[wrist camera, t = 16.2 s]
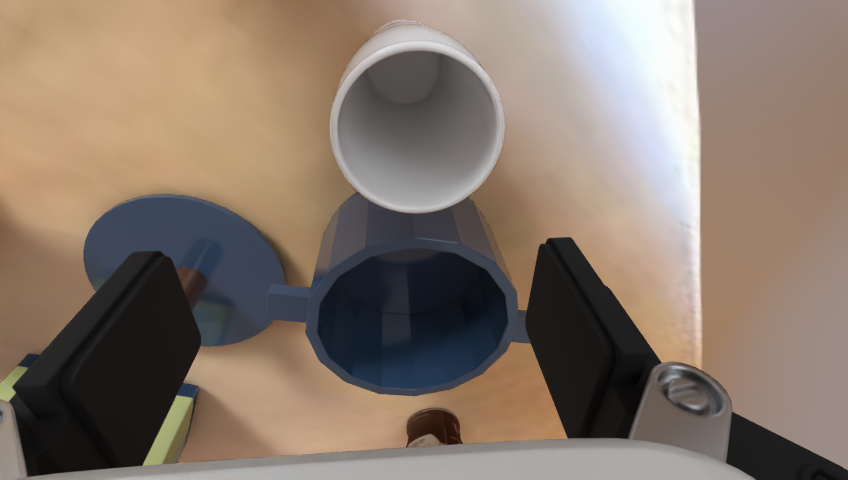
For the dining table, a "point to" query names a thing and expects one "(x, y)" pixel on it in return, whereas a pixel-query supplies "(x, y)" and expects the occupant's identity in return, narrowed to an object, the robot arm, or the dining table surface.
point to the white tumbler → (415, 119)
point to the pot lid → (194, 259)
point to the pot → (406, 298)
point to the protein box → (170, 432)
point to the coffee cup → (433, 428)
